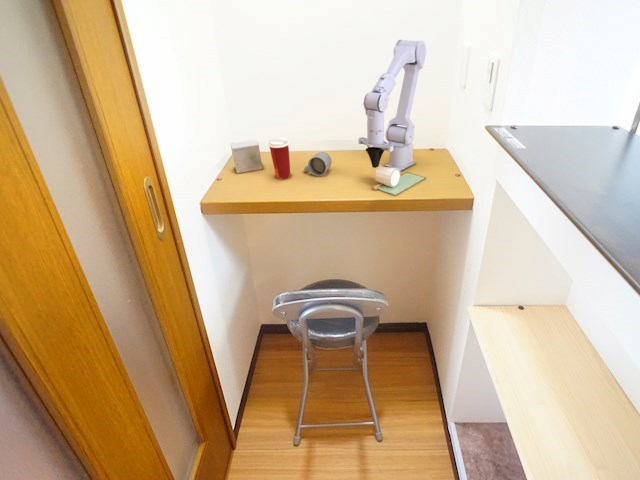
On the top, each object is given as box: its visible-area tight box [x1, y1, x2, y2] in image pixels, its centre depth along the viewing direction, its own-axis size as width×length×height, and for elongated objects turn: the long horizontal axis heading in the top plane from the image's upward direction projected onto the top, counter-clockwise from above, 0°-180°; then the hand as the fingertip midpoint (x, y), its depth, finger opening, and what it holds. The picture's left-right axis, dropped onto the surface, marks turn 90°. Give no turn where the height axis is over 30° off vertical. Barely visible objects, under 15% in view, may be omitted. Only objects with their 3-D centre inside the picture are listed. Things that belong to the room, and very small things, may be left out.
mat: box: [376, 172, 425, 196], centre depth 146 cm, size 18×8×1 cm, turn 137°
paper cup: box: [267, 137, 291, 180], centre depth 151 cm, size 8×8×14 cm
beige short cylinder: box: [374, 166, 402, 187], centre depth 143 cm, size 7×7×7 cm
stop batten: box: [372, 182, 384, 191], centre depth 146 cm, size 12×1×1 cm, turn 137°
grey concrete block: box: [230, 139, 264, 174], centre depth 159 cm, size 10×6×10 cm, turn 110°
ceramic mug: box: [303, 151, 332, 177], centre depth 155 cm, size 11×8×8 cm
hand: (375, 166), depth 145 cm, fingers closed
